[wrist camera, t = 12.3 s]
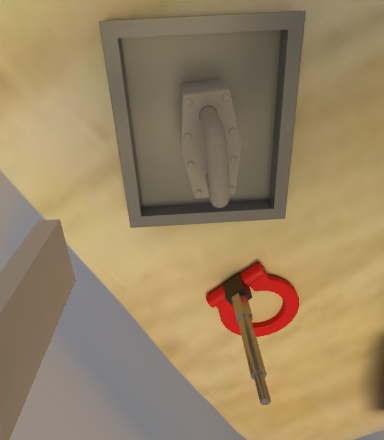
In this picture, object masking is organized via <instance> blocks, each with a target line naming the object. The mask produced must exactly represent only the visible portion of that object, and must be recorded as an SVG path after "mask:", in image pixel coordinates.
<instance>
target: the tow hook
mask: <svg viewBox="0 0 384 440" xmlns="http://www.w3.org/2000/svg"><path fill="white" fill-rule="evenodd" d="M249 286H250V287H251V288H252V289H253V290H254V291H271V292H275V293H277V294H279V295H280V296H281V297H282V298H283V307H282V309H281V311H280V312H279V313H278V314H277V315H276V316H275V317H273V318H272V319H270V320H268V321H265V322H261V323H252V313H251V309H250V306H249V302H248V300H249V299H251V298H252V295H251V291H250V288H249ZM206 300H207V302H208V304H209V305H210V306H211V307H213V308H214V307H215V306H216V307H217V308H218V309H219V312H220V317H221V321H222V323H223V324H224V325H225V327H226V328H227V329H229V330H230V331H231V332H233V333H236V334H238V335H242V340H243V344H244V348H245V352H246V357H247V361H248V365H249V370H250V374H251V378H252V379H254V380H255V383H256V387H257V391H258V396H259V400H260V403H261V404H262V405H268V404H269V403H270V402H271V399H270V396H269V392H268V388H267V385H266V381H265V377H266V371H265V367H264V363H263V360H262V356H261V353H260V349H259V345H258V342H257V338H256V337H259V336H264V335H269V334H271V333H274V332H277V331H279V330H280V329H282V328H284V327H285V326H286V325H288V324H289V323H290V322H291V321H292V320H293V318H294V317H295V315H296V314H297V311H298V308H299V298H298V296H297V293H296V291H295V289H294V287H293V286H292V285H291V284H290V283H289V282H287V281H285V280H284V279H282V278H279V277H275V276H270V275H268V274H267V273H266V270H265V269H264V267H263V266H262V265H261V264H260V263H257V264H256V265H254V266H252V267H251V268H249V269H248V270H246V271H245V272H243V273H241V274H238V275H236V276H235V277H233V278H232V279H230V280H229V281H227V282H226V283H224V284H223V286H221V287H220V288H218V289H216V290H215V291H213V292H212V293H210V294H209V295H207V296H206ZM234 313H235V314H234Z"/></svg>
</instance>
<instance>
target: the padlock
mask: <svg viewBox="0 0 384 440" xmlns="http://www.w3.org/2000/svg"><path fill="white" fill-rule="evenodd" d="M180 145H181V154H182V157H183V160H184V163H185V167H186V170H187V173H188V177H189V180H190V183H191V186H192V190H193V193H194V196H195V198H205V197H209V198H210V202H211V203H212V205H213V206H215V207H217V208H222V207H225V206H226V205H227V204H228V202H229V199H230V194H234V193H235V192H236V184H237V176H238V167H239V159H240V151H241V140H240V135H239V130H238V126H237V121H236V116H235V112H234V107H233V102H232V98H231V93H230V90H229V89H228V87H227V86H226V85H225V84H224V83H223V82H222V81H221V80H220V79H216V80H208V81H200V82H192V83H184V84H182V89H181V118H180Z"/></svg>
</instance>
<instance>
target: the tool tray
mask: <svg viewBox="0 0 384 440" xmlns="http://www.w3.org/2000/svg"><path fill="white" fill-rule="evenodd" d="M304 21H305V11H290V12H270V13H251V14H231V15H211V16H191V17H171V18H152V19H132V20H112V21H99V24H100V30H101V37H102V43H103V50H104V57H105V63H106V70H107V76H108V83H109V89H110V96H111V102H112V109H113V116H114V122H115V129H116V135H117V142H118V148H119V155H120V162H121V168H122V175H123V181H124V188H125V194H126V201H127V208H128V214H129V221H130V227H131V228H134V227H151V226H168V225H185V224H202V223H218V222H235V221H252V220H269V219H285V213H286V203H287V193H288V183H289V173H290V163H291V153H292V143H293V133H294V122H295V112H296V102H297V92H298V82H299V72H300V62H301V52H302V42H303V31H304ZM216 79H220V80H221V81H222V82H223V83H224V84H225V85H226V86H227V87H228V89H229V90H230V93H231V98H232V102H233V107H234V112H235V116H236V121H237V126H238V130H239V135H240V140H241V151H240V159H239V167H238V176H237V184H236V192H235V193H234V194H230V199H229V202H228V204H227V205H226V206H225V207H222V208H217V207H215V206H213V205H212V203H211V202H210V198H209V197H205V198H195V196H194V193H193V190H192V186H191V183H190V180H189V177H188V173H187V170H186V167H185V163H184V160H183V157H182V154H181V145H180V118H181V89H182V84H184V83H192V82H200V81H208V80H216Z"/></svg>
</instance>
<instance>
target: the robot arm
mask: <svg viewBox="0 0 384 440" xmlns="http://www.w3.org/2000/svg"><path fill="white" fill-rule="evenodd" d="M75 281H76V280H75V276H74V272H73V268H72V264H71V261H70V257H69V253H68V249H67V245H66V241H65V238H64V234H63V230H62V226H61V222H60V220H43V221H38V222H37V223H36V225H35V226H34V227H33V229H32V230H31V231H30V233H29V234H28V235H27V237H26V238H25V239H24V241H23V242H22V244H21V245H20V246H19V248H18V249H17V250H16V252H15V253H14V255H13V256H12V257H11V259H10V260H9V261H8V262H7V264H6V265H5V266H4V268H3V269H2V270H1V272H0V440H9V439H10V437H11V434H12V432H13V429H14V427H15V425H16V422H17V420H18V417H19V415H20V413H21V410H22V408H23V405H24V403H25V401H26V398H27V396H28V393H29V391H30V388H31V386H32V384H33V381H34V379H35V377H36V374H37V372H38V369H39V367H40V364H41V362H42V360H43V357H44V355H45V352H46V350H47V348H48V345H49V343H50V341H51V338H52V336H53V333H54V331H55V328H56V326H57V324H58V321H59V319H60V317H61V314H62V312H63V309H64V307H65V305H66V302H67V300H68V297H69V295H70V293H71V290H72V288H73V285H74V283H75Z"/></svg>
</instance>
